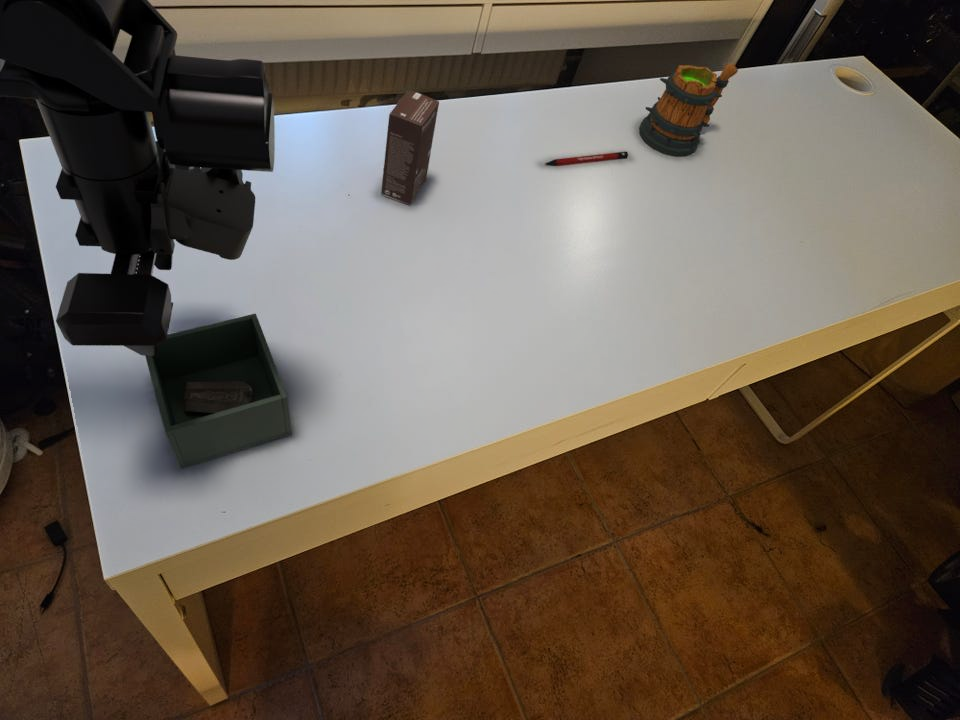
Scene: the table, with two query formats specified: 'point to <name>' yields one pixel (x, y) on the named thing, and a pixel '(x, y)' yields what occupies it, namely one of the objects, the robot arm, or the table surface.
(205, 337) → the bin
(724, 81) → the mug
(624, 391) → the table surface
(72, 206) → the table surface
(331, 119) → the table surface
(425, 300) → the table surface
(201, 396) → the block
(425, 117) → the box
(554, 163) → the pencil
